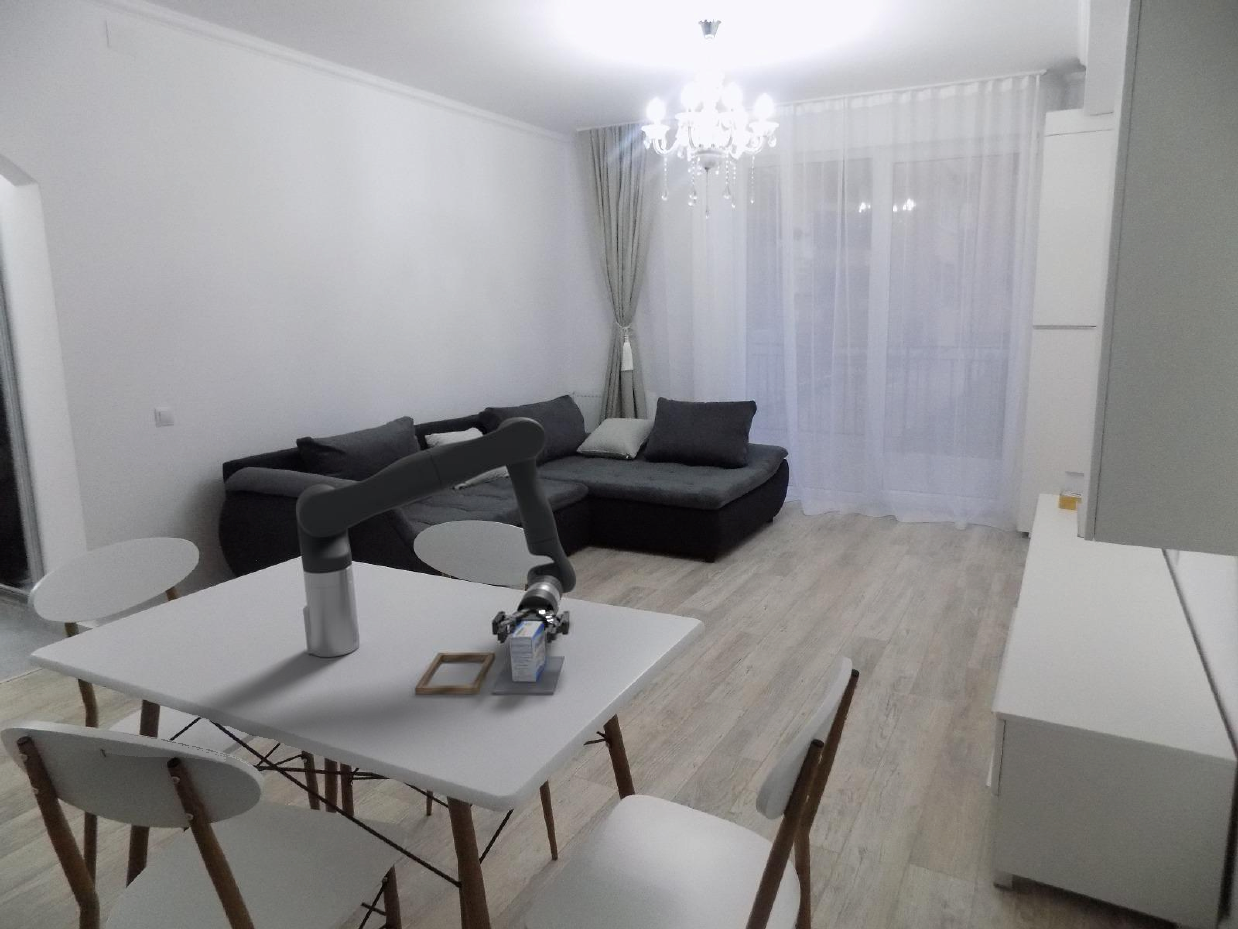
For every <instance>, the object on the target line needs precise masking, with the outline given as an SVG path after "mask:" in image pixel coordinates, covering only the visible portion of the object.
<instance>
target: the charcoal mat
mask: <svg viewBox="0 0 1238 929" xmlns="http://www.w3.org/2000/svg"><path fill="white" fill-rule="evenodd" d="M545 656H546V664H545V666H544V668H543V670H542V671H541V673H540V675H539V677H538V679H537V681H536V682H515V681H513V678H512V665H511V655H509V656H507V657H506V659H505V662H504V663H503V665H502V668H501V670H500V672H499V674H498V676H497V678H496V680H495V683H494V685H493V687H492V689H491V691H490V694H491V695H554V694H555V690H556V687H557V685H558V681H559V677H560V674H561V671H562V668H563V663H564V660H565V656H563V655H561V656H560V655H556V656H555V655H554V656H553V655H552V656H550V655H545Z"/></svg>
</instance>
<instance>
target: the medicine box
mask: <svg viewBox="0 0 1238 929" xmlns="http://www.w3.org/2000/svg"><path fill="white" fill-rule="evenodd" d="M545 640H546V639H545V633H544V623H543V622H541V621H522V622H521V623H520V625H519V626H518V627H517V629H516V630H515V632H514V633H513V634H511V636H510V637H509V649H510V652H509V653H510V656H511V665H512V678H513V681H515V682H536V681H537V679H538V677H539V675H540V673H541V671H542V670H543V668H544V666H545V664H546V656H547V655H546V642H545Z"/></svg>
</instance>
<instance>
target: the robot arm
mask: <svg viewBox="0 0 1238 929" xmlns="http://www.w3.org/2000/svg"><path fill="white" fill-rule="evenodd" d="M546 442H547V433H546V431H545V429H544V427H543V426H542V425H541V424H540V423H539V422H537V421H536V420H535V419H532V418H530V417H524V416H521V417H520V416H519V417H515V416H514V417H510V418H507V419H505V420H503V421H502V422H501V423H500V425H499V426H498V427H497V429H495V430H493V431H491V432H488V433H486V434H483V435H481V436H478V437H475V438H471V439H466V440H460V441H455V442H449V443H445V444H441V445H437V446H434V447H431V448H426V449H424V450H420V451H418V452H415V453H413V454H410V455H407V456H405V457H402V458H400V459H399V460H396V461H394V462H393V463H391V464H389V465H388V466H386V467H385V468H383V469H381V470H380V471H378V472H377V473H375V474H374V475H372V476H370V477H368V478H366V479H363V480H360V481H359V482H354V483H352V484H347V485H344V486H341V487H337V488H335V487H333V486H331V485H329V484H322V483H321V484H314V485H311V486H309V487H307V488H306V489H304V490H303V491H302V492H301V493H300V495H299V496H298V498H297V500H296V503H295V504H296V505H295V515H296V516H295V517H296V523H297V524H296V525H297V532H298V540H299V542H298V543H299V550H300V556H301V563H302V572H303V580H304V581H303V582H304V590H305V597H306V598H305V601H306V605H305V606H304V607H303V609H302V612H303V614H302V615H303V624H304V632H305V641H306V650H307V654H308V655H314V656H316V657H322V658H329V657H330V658H332V657H338V656H344V655H346V654H350V653H352V652H354V651H356V650H357V649H359V647H360V633H359V622H358V611H357V600H356V599H357V598H356V590H355V580H354V571H353V570H354V569H353V559H352V558H353V557H352V549H351V545H350V540H349V532H348V529H349V528H351V527H353V526H356V525H357V524H359V523H361V522H363V521H366V520H368V519H369V518H372V517H374V516H376V515H378V514H379V515H380V514H381V513H385V512H387V511H391V510H394V509H398V508H401V507H403V506H404V507H405V506H407V505H409V504H413V503H415V502H419V501H421V500H424V499H427V498H429V497H432V496H435V495H438V494H440V493H443V492H446V491H448V490H451V489H452V488H455V487H457V486H460V485H462V484H464V483H466V482H468V481H470V480H472V479H475V478H477V477H479V476H480V475H484V474H485V473H487V472H490V471H493V470H497V469H501V468H504V467H505V468H506V471H507V473H508V476H509V479H510V482H511V486H512V488H513V492H514V496H515V499H516V503H517V506H518V511H519V516H520V520H521V525H522V530H523V532H524V533H523V534H524V538H525V542H526V547H527V550H528V553H529V554H530V555H532V556H537V557H547V558H549V559H550V560H552V561H553V562H548V563H547V562H546V563H542V564H538V565H535V566H532V567H531V568H530V569H529V570H528V572H527V573H526V574H527V575H526V580H527V586H528V588H527V590H526V591H525V592H524V594H523V596H522V598H521V600H520V602H519V604H518V607H517V609H516V611H515V612H513V613H512V615H511V614H508V615H507V614H506V611H504V610H499V611H498V613H496V615H495V617H494V618H493V619H492V621H491V628H492V629H491V630H492V632H491V633H492V635H494V636H496V638H497V641H499V642H500V644H505V643H506V641H507V639H508V637H509V636H510V635H512V634H513V633H514V632H515V630H516V629H517V628H518V626H519V625H520V623H521V622H522V621H541V622H543V623H544V635H546V643H547V644H552V642H555V641H556V639H557V638H558V636H559V634H562V636H563V635H564V636H566V635H569V634H570V632H569V631H570V626H571V615H570V610H564V611H562V613H561V614H558V612H559V610H560V605H561V600H562V597H563V594H567V593H570V592H572V591H573V590H574V589H575V587H576V584H577V575H576V572H575V569H574V567H573V566H572V564H571V562H570V561H569V558H568V557H567V554H566V553H565V550H564V548H563V547H562V544H561V541H560V537H559V534H558V528H557V524H556V520H555V517H554V513H553V510H552V507H551V504H550V501H549V499H548V497H547V495H546V492H545V490H544V488H543V485H542V482H541V480H540V476H539V472H538V467H537V462H536V461H537V460H536V458H537V457H538V456H539V455H540V454H541V453H542V452H543V450H544V449H545V446H546ZM508 626H509V628H508Z"/></svg>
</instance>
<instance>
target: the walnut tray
mask: <svg viewBox="0 0 1238 929" xmlns="http://www.w3.org/2000/svg"><path fill="white" fill-rule="evenodd" d="M495 653H496V652H438V653H437V654H436V656H435V658H433V660H432V661H431V663H430V665H429V666H428V668H427V670H425V672H424V673H423V675H422V677H421V678H420V680H419V681H418V682H417V684H416V685H415V687H414V693H415V695H478V693H479V691H480V690H481V687H482V685H483V683H484V681H485V679H486V677H487V675H488V673H489V671H490V669H491V668H492V665H493V663H494V661H495V660H496V654H495ZM445 661H449V662H450V661H451V662H452V661H454V662H458V661H459V662H462V661H471V662H472V661H473V662H475V661H482V662H483V661H484V662H483V664H482V666H481V668H480V670H479V672H478V674H477V675H476V677H475V679H474V681H473V684H472V685H471V684H470V685H469V684H467V685H466V684H465V685H463V684H460V685H459V684H458V685H457V684H455V685H453V684H452V685H451V684H448V685H447V684H446V685H445V684H443V685H441V684H440V685H439V684H438V685H437V684H435V685H432V684H431V685H429V683H430V682H431V679H432V678H433V676H434V675H435V673H436V672H437V670H438V669H439V666H441V664H442V662H445Z"/></svg>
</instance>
